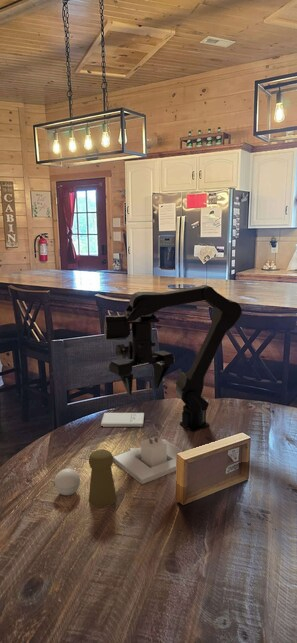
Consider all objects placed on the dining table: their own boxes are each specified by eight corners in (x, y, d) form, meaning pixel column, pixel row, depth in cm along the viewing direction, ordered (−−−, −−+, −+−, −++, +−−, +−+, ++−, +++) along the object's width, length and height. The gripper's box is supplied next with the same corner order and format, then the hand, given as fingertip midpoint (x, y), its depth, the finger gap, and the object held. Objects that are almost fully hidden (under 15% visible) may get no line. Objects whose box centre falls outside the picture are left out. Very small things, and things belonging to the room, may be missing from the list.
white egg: (63, 484, 103) (62, 461, 102) (85, 488, 101) (84, 466, 100) (44, 502, 96) (42, 479, 95) (67, 508, 94) (66, 484, 93)
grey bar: (132, 450, 118) (132, 447, 118) (136, 453, 116) (136, 450, 116) (103, 461, 113) (103, 457, 113) (106, 464, 111) (106, 460, 111)
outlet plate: (163, 443, 122) (163, 439, 121) (195, 462, 111) (195, 458, 111) (113, 461, 113) (112, 456, 112) (141, 484, 102) (141, 479, 102)
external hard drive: (104, 417, 141) (144, 416, 140) (101, 428, 133) (143, 428, 132) (104, 412, 140) (144, 411, 140) (100, 423, 132) (143, 423, 132)
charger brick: (155, 454, 115) (155, 432, 114) (166, 461, 111) (166, 439, 110) (141, 459, 113) (140, 437, 111) (151, 467, 109) (151, 444, 108)
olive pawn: (121, 494, 99) (119, 448, 96) (107, 510, 93) (105, 462, 91) (97, 488, 101) (95, 443, 99) (83, 503, 96) (80, 456, 93)
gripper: (152, 328, 135) (153, 377, 138) (98, 337, 125) (100, 390, 128) (175, 335, 126) (175, 387, 130) (119, 345, 116) (120, 402, 119)
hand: (143, 391), depth 127 cm, fingers open, 9 cm apart
